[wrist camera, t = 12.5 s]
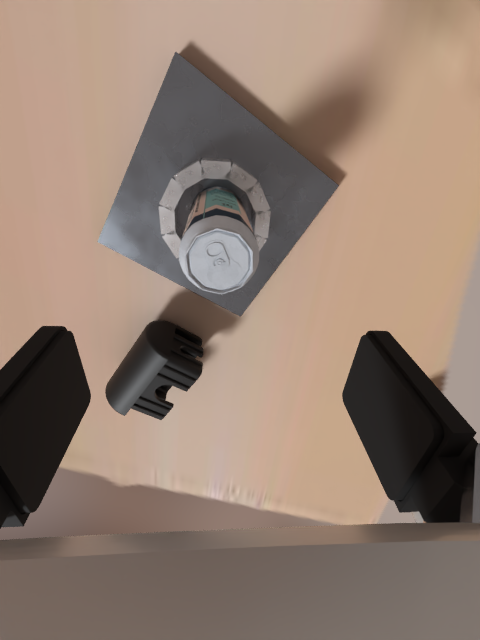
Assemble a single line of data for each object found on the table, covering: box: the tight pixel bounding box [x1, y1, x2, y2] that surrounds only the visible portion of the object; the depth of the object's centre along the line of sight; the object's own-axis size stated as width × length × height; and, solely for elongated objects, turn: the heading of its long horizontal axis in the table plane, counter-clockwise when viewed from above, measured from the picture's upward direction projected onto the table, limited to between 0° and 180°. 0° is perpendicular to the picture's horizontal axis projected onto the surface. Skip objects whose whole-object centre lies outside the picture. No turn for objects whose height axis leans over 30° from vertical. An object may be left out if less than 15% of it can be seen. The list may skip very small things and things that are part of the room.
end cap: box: [106, 320, 203, 420], centre depth 33 cm, size 10×7×7 cm
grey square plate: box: [98, 52, 339, 316], centre depth 26 cm, size 16×16×4 cm
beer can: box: [179, 187, 259, 294], centre depth 22 cm, size 5×5×12 cm
